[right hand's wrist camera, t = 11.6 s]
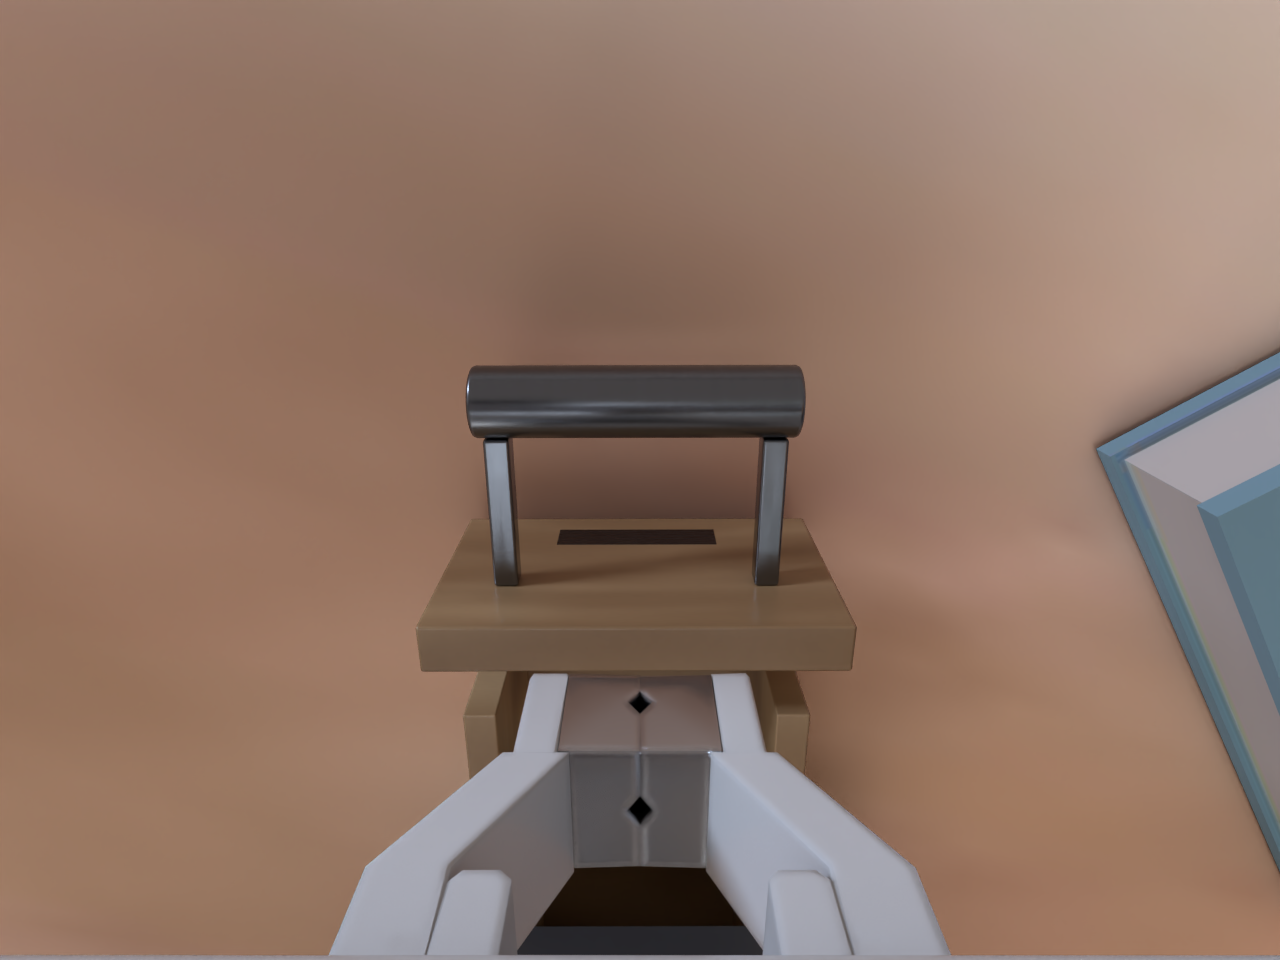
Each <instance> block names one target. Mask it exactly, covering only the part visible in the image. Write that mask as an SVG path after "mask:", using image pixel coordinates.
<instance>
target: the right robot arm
mask: <svg viewBox="0 0 1280 960" xmlns="http://www.w3.org/2000/svg"><path fill="white" fill-rule="evenodd" d="M624 866H654V867H689V868H706V872H707V873H708V875H709V876H710V877H711V879H712V880H713V882H714V883H715V884H716V886H717V887H718V889H719V890H720V891H721V893H722V894H723V896H724V897H725V898H726V900H727V901H728V902H729V904H730V905H731V907H732V908H733V909H734V911H735V912H736V914H737V915H738V916H739V918H740V919H741V921H742V922H743V923H744V925H745V926H746V927H747V929H748V930H749V932H750V933H751V934H752V936H753V937H754V939H755V940H756V941H757V943H758V944H759V946H760V947H761V948H762V950H763V955H517V950H518V949H519V947H520V946H521V945H522V943H523V942H524V940H525V939H526V938H527V936H528V935H529V934H530V932H531V931H532V929H533V928H534V927H535V925H536V924H537V923H538V921H539V920H540V918H541V917H542V916H543V914H544V913H545V911H546V910H547V909H548V907H549V906H550V905H551V903H552V902H553V900H554V899H555V898H556V896H557V895H558V893H559V892H560V891H561V889H562V888H563V887H564V885H565V884H566V882H567V881H568V880H569V878H570V877H571V876H572V874H573V873H574V868H590V867H624ZM0 960H1280V955H951V954H950V951H949V949H948V946H947V944H946V941H945V939H944V936H943V934H942V931H941V929H940V927H939V924H938V922H937V919H936V917H935V914H934V912H933V909H932V907H931V904H930V902H929V900H928V897H927V895H926V892H925V890H924V887H923V885H922V882H921V880H920V878H919V875H918V873H917V870H916V868H915V867H914V866H913V865H912V864H910V863H909V862H908V861H907V860H906V859H904V858H903V857H902V856H901V855H900V854H898V853H897V852H896V851H895V850H894V849H893V848H891V847H890V846H889V845H888V844H887V843H885V842H884V841H883V840H882V839H881V838H879V837H878V836H877V835H876V834H875V833H873V832H872V831H871V830H870V829H869V828H867V827H866V826H865V825H864V824H863V823H861V822H860V821H859V820H858V819H857V818H855V817H854V816H853V815H852V814H851V813H849V812H848V811H847V810H846V809H845V808H843V807H842V806H841V805H840V804H839V803H837V802H836V801H835V800H834V799H833V798H831V797H830V796H829V795H828V794H827V793H825V792H824V791H823V790H822V789H821V788H819V787H818V786H817V785H816V784H815V783H814V782H812V781H811V780H810V779H809V778H808V777H806V776H805V775H804V774H803V773H802V772H800V771H799V770H798V769H797V768H796V767H794V766H793V765H792V764H791V763H790V762H788V761H787V760H786V759H785V758H784V757H782V756H781V755H780V754H779V753H777V752H767V751H766V747H765V743H764V738H763V734H762V730H761V725H760V721H759V717H758V712H757V708H756V704H755V699H754V695H753V691H752V686H751V682H750V678H749V676H748V675H747V674H746V673H733V674H711V675H682V676H640V675H609V674H570V675H568V674H533V676H532V677H531V679H530V681H529V686H528V690H527V694H526V699H525V703H524V707H523V712H522V716H521V721H520V725H519V729H518V734H517V738H516V742H515V747H514V751H513V752H503V753H501V754H500V755H499V756H498V757H496V758H495V759H494V760H493V761H492V762H490V763H489V764H488V765H487V766H486V767H484V768H483V769H482V770H481V771H480V772H478V773H477V774H476V775H475V776H474V777H472V778H471V779H470V780H469V781H468V782H466V783H465V784H464V785H463V786H462V787H460V788H459V789H458V790H457V791H456V792H454V793H453V794H452V795H451V796H450V797H448V798H447V799H446V800H445V801H444V802H442V803H441V804H440V805H439V806H438V807H436V808H435V809H434V810H433V811H431V812H430V813H429V814H428V815H427V816H425V817H424V818H423V819H422V820H421V821H419V822H418V823H417V824H416V825H415V826H413V827H412V828H411V829H410V830H409V831H407V832H406V833H405V834H404V835H403V836H401V837H400V838H399V839H398V840H397V841H395V842H394V843H393V844H392V845H391V846H389V847H388V848H387V849H386V850H385V851H383V852H382V853H381V854H380V855H379V856H377V857H376V858H375V859H374V860H373V861H371V862H370V863H369V864H368V865H367V866H365V869H364V871H363V873H362V876H361V878H360V881H359V883H358V886H357V888H356V890H355V893H354V895H353V898H352V900H351V902H350V905H349V907H348V910H347V912H346V915H345V917H344V919H343V922H342V924H341V927H340V929H339V931H338V934H337V936H336V939H335V941H334V944H333V946H332V948H331V951H330V953H329V955H0Z"/></svg>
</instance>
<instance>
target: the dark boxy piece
mask: <svg viewBox="0 0 1280 960" xmlns="http://www.w3.org/2000/svg"><path fill="white" fill-rule="evenodd" d="M517 955H763V950H762V948H761V947H760V946H759V944H758V943H757V941H756V940H755V939H754V937H753V936H752V934H751V933H750V932H749V930H748V929H747V927H746V926H535V927H534V928H533V929H532V931H531V932H530V934H529V935H528V936H527V938H526V939H525V940H524V942H523V943H522V945H521V946H520V947H519V949H518V950H517Z"/></svg>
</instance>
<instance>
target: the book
mask: <svg viewBox="0 0 1280 960" xmlns="http://www.w3.org/2000/svg"><path fill="white" fill-rule="evenodd" d="M1096 450H1097V452H1098V454H1099V457H1100V459H1101V461H1102V463H1103V466H1104V468H1105V470H1106V473H1107V475H1108V477H1109V480H1110V482H1111V484H1112V487H1113V489H1114V491H1115V493H1116V496H1117V498H1118V500H1119V503H1120V505H1121V507H1122V510H1123V512H1124V514H1125V516H1126V519H1127V521H1128V523H1129V526H1130V528H1131V530H1132V533H1133V535H1134V537H1135V539H1136V542H1137V544H1138V546H1139V549H1140V551H1141V553H1142V556H1143V558H1144V560H1145V563H1146V565H1147V567H1148V569H1149V572H1150V574H1151V576H1152V579H1153V581H1154V583H1155V586H1156V588H1157V590H1158V592H1159V595H1160V597H1161V599H1162V602H1163V604H1164V606H1165V609H1166V611H1167V613H1168V616H1169V618H1170V620H1171V622H1172V625H1173V627H1174V629H1175V632H1176V634H1177V636H1178V639H1179V641H1180V643H1181V645H1182V648H1183V650H1184V652H1185V655H1186V657H1187V659H1188V662H1189V664H1190V666H1191V669H1192V671H1193V673H1194V675H1195V678H1196V680H1197V682H1198V685H1199V687H1200V689H1201V692H1202V694H1203V696H1204V698H1205V701H1206V703H1207V705H1208V708H1209V710H1210V712H1211V715H1212V717H1213V719H1214V721H1215V724H1216V726H1217V728H1218V731H1219V733H1220V735H1221V738H1222V740H1223V742H1224V745H1225V747H1226V749H1227V751H1228V754H1229V756H1230V758H1231V761H1232V763H1233V765H1234V768H1235V770H1236V772H1237V774H1238V777H1239V779H1240V781H1241V784H1242V786H1243V788H1244V791H1245V793H1246V795H1247V798H1248V800H1249V802H1250V804H1251V807H1252V809H1253V811H1254V814H1255V816H1256V818H1257V821H1258V823H1259V825H1260V827H1261V830H1262V832H1263V834H1264V837H1265V839H1266V841H1267V844H1268V846H1269V848H1270V850H1271V853H1272V855H1273V857H1274V860H1275V862H1276V864H1277V867H1278V869H1279V871H1280V352H1279V353H1277V354H1275V355H1274V356H1272V357H1270V358H1268V359H1266V360H1264V361H1262V362H1260V363H1258V364H1256V365H1255V366H1253V367H1251V368H1249V369H1247V370H1245V371H1243V372H1241V373H1239V374H1237V375H1236V376H1234V377H1232V378H1230V379H1228V380H1226V381H1224V382H1222V383H1220V384H1218V385H1217V386H1215V387H1213V388H1211V389H1209V390H1207V391H1205V392H1203V393H1201V394H1199V395H1198V396H1196V397H1194V398H1192V399H1190V400H1188V401H1186V402H1184V403H1182V404H1180V405H1179V406H1177V407H1175V408H1173V409H1171V410H1169V411H1167V412H1165V413H1163V414H1161V415H1160V416H1158V417H1156V418H1154V419H1152V420H1150V421H1148V422H1146V423H1144V424H1142V425H1141V426H1139V427H1137V428H1135V429H1133V430H1131V431H1129V432H1127V433H1125V434H1123V435H1122V436H1120V437H1118V438H1116V439H1114V440H1112V441H1110V442H1108V443H1106V444H1104V445H1103V446H1101V447H1099V448H1097V449H1096Z"/></svg>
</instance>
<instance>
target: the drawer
mask: <svg viewBox="0 0 1280 960" xmlns="http://www.w3.org/2000/svg"><path fill="white" fill-rule="evenodd" d="M805 403H806V393H805V381H804V376H803V373H802V370H801V368H800V367H799V366H797V365H515V366H474V367H472V368H471V369H470V371H469V375H468V378H467V384H466V413H467V420H468V425H469V428H470V431H471V433H472V435H473V436H474V437H476V438H485V439H484V441H483V449H484V461H485V474H486V486H487V498H488V511H489V519H472V520H471V521H470V523H469V525H468V527H467V529H466V531H465V533H464V535H463V537H462V539H461V541H460V543H459V545H458V547H457V548H456V550H455V552H454V554H453V556H452V558H451V560H450V562H449V564H448V566H447V568H446V570H445V572H444V574H443V576H442V578H441V580H440V582H439V584H438V586H437V587H436V589H435V591H434V593H433V595H432V597H431V599H430V601H429V603H428V605H427V607H426V609H425V611H424V613H423V615H422V617H421V619H420V621H419V623H418V624H417V626H416V635H417V643H418V650H419V658H420V666H421V670H422V671H478V673H477V676H476V679H475V682H474V685H473V688H472V691H471V694H470V697H469V700H468V703H467V706H466V709H465V712H464V715H463V720H464V729H465V739H466V748H467V758H468V767H469V777H470V779H471V778H472V777H474V776H475V775H476V774H477V773H478V772H480V771H481V770H482V769H483V768H484V767H486V766H487V765H488V764H489V763H490V762H492V761H493V760H494V759H495V758H496V757H498V756H499V755H500V754H501V753H503V752H513V751H514V747H515V742H516V738H517V734H518V729H519V725H520V721H521V716H522V712H523V707H524V703H525V699H526V694H527V690H528V686H529V681H530V679H531V677H532V676H533V674H568V675H570V674H609V675H640V676H682V675H711V674H733V673H746V674H747V675H748V676H749V678H750V682H751V686H752V691H753V695H754V699H755V704H756V708H757V712H758V717H759V721H760V725H761V730H762V734H763V738H764V743H765V747H766V751H767V752H777V753H779V754H780V755H781V756H782V757H784V758H785V759H786V760H787V761H788V762H790V763H791V764H792V765H793V766H794V767H796V768H797V769H798V770H799V771H800V772H802V773H803V774H804V773H805V763H806V752H807V742H808V732H809V722H810V713H809V710H808V707H807V704H806V701H805V698H804V695H803V692H802V689H801V686H800V683H799V680H798V677H797V674H796V671H850V670H851V669H852V663H853V654H854V646H855V637H856V629H857V627H856V625H855V623H854V621H853V619H852V617H851V615H850V613H849V611H848V609H847V607H846V605H845V603H844V601H843V599H842V597H841V595H840V593H839V591H838V589H837V587H836V585H835V583H834V581H833V579H832V577H831V575H830V573H829V571H828V569H827V567H826V565H825V563H824V561H823V559H822V557H821V555H820V553H819V551H818V549H817V547H816V545H815V543H814V541H813V539H812V537H811V535H810V533H809V531H808V529H807V527H806V525H805V523H804V521H803V519H783V515H784V502H785V488H786V474H787V461H788V447H789V441H788V439H787V438H794V437H797V436H798V435H799V434H800V432H801V429H802V426H803V422H804V416H805ZM512 438H760V439H759V457H758V474H757V491H756V508H755V519H518V515H517V500H516V485H515V470H514V454H513V439H512ZM535 926H745V925H744V923H743V922H742V921H741V919H740V918H739V916H738V915H737V914H736V912H735V911H734V909H733V908H732V907H731V905H730V904H729V902H728V901H727V900H726V898H725V897H724V896H723V894H722V893H721V891H720V890H719V889H718V887H717V886H716V884H715V883H714V882H713V880H712V879H711V877H710V876H709V875H708V873H707V872H706V868H689V867H654V866H624V867H590V868H574V873H573V874H572V876H571V877H570V878H569V880H568V881H567V882H566V884H565V885H564V887H563V888H562V889H561V891H560V892H559V893H558V895H557V896H556V898H555V899H554V900H553V902H552V903H551V905H550V906H549V907H548V909H547V910H546V911H545V913H544V914H543V916H542V917H541V918H540V920H539V921H538V923H537V924H536V925H535Z"/></svg>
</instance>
